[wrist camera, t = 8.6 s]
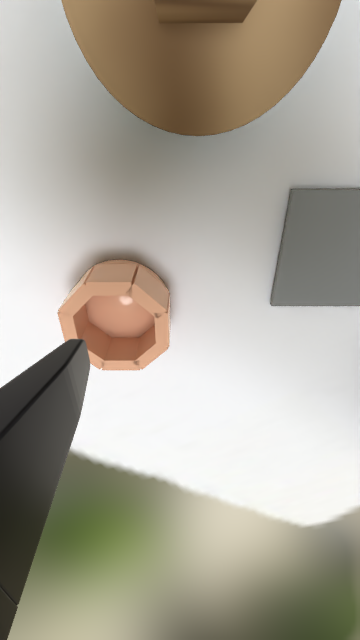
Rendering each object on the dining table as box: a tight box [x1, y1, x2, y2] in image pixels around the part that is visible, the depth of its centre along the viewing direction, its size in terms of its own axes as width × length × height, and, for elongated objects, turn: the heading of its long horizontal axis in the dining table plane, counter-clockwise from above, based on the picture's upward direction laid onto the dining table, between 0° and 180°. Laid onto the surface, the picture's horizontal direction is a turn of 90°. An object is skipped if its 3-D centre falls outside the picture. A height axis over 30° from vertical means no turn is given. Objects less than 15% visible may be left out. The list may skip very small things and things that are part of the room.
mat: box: [270, 189, 360, 306], centre depth 21 cm, size 10×8×1 cm
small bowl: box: [58, 259, 170, 370], centre depth 22 cm, size 7×7×4 cm
